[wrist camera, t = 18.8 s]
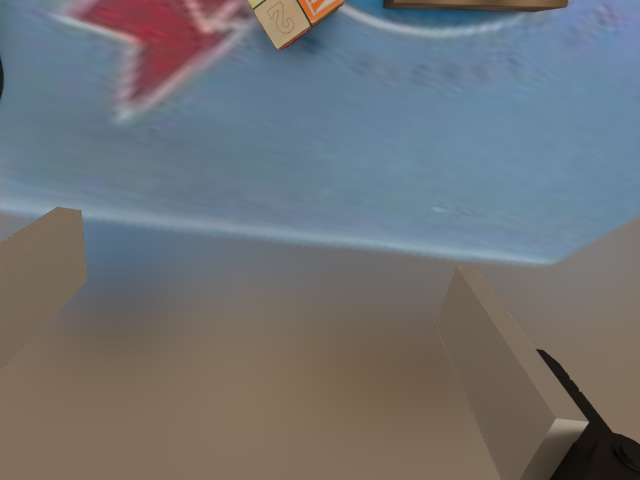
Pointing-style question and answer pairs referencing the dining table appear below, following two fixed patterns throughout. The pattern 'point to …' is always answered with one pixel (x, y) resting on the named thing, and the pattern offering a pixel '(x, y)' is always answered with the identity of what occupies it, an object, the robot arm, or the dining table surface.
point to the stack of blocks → (291, 17)
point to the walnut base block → (479, 5)
